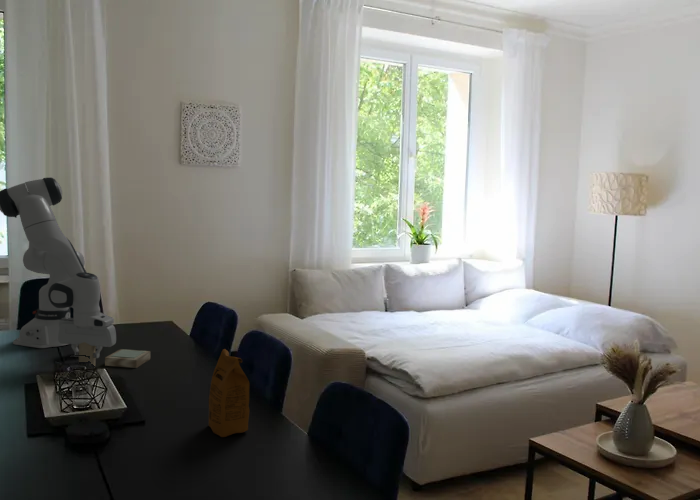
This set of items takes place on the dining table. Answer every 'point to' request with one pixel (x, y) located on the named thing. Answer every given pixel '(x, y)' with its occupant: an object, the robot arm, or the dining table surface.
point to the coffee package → (228, 397)
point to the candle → (87, 353)
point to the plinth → (127, 358)
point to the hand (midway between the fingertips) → (87, 356)
